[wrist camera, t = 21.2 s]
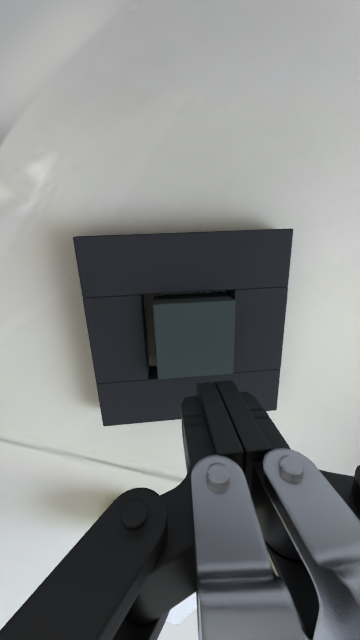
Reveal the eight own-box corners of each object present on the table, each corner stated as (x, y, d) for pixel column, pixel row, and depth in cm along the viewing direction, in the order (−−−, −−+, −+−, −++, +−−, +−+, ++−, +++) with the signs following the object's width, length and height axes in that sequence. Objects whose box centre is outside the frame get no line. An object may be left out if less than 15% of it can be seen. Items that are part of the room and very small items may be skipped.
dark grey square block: (153, 295, 18) (152, 304, 15) (223, 291, 18) (235, 300, 15) (157, 360, 19) (157, 379, 17) (222, 355, 20) (233, 373, 17)
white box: (217, 588, 29) (218, 597, 28) (177, 625, 30) (177, 634, 29) (163, 568, 27) (163, 577, 26) (123, 608, 28) (122, 617, 27)
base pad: (82, 237, 16) (72, 236, 14) (278, 230, 17) (293, 228, 15) (108, 410, 20) (103, 426, 19) (266, 396, 21) (276, 410, 20)
